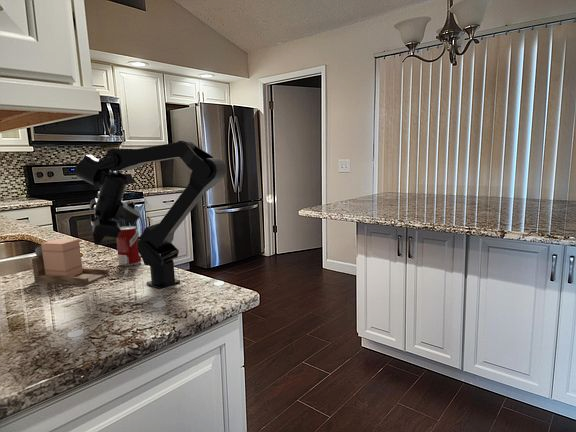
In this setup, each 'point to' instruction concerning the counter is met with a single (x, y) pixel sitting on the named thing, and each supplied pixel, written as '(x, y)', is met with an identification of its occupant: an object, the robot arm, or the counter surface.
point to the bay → (80, 279)
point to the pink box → (62, 257)
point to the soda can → (128, 246)
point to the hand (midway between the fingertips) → (96, 244)
